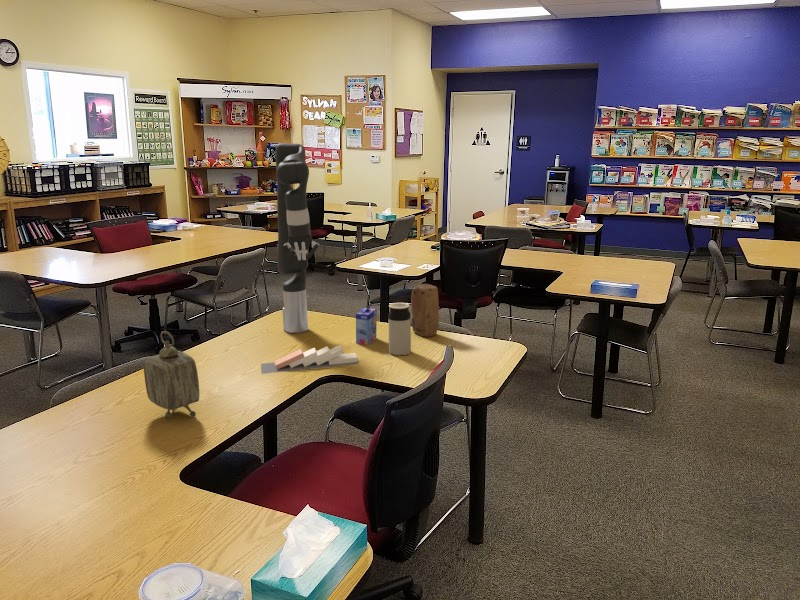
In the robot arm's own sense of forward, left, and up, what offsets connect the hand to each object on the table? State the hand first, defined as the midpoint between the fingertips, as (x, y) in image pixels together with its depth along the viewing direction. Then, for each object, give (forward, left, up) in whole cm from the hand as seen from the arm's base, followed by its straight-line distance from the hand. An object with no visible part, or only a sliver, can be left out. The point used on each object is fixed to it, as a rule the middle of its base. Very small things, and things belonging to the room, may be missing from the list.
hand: (303, 269), depth 219 cm
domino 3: (+5, -10, -31) cm, 33 cm away
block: (+26, +41, -32) cm, 59 cm away
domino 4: (+8, -7, -31) cm, 32 cm away
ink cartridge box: (+10, +23, -32) cm, 41 cm away
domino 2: (+2, -13, -31) cm, 33 cm away
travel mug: (+28, +17, -32) cm, 46 cm away
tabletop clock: (-4, -59, -32) cm, 67 cm away
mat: (+7, -8, -32) cm, 34 cm away
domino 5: (+11, -4, -31) cm, 33 cm away
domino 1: (-2, -16, -31) cm, 35 cm away
